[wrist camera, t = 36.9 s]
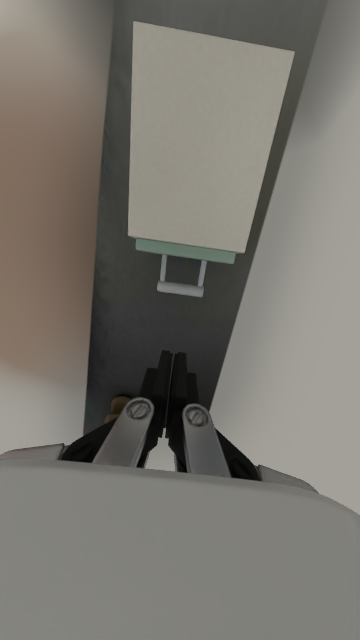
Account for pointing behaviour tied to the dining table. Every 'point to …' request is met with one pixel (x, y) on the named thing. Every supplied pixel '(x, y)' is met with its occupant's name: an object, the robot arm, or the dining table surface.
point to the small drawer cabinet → (200, 134)
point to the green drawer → (184, 252)
